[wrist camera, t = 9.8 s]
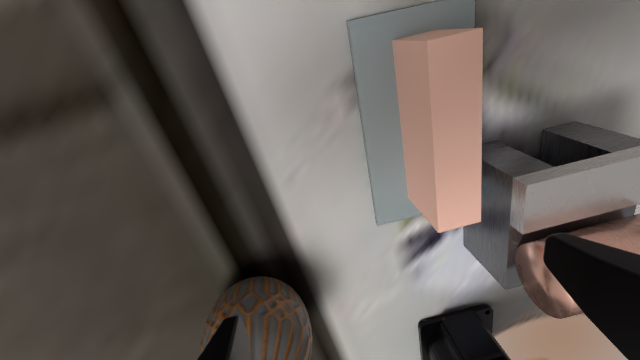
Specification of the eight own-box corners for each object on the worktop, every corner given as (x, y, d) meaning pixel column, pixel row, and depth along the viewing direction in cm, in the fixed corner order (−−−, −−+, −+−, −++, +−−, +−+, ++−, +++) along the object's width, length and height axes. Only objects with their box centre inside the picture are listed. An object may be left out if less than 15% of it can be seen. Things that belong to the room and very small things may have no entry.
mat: (470, 198, 23) (473, 201, 23) (376, 222, 23) (377, 225, 22) (470, -7, 17) (475, -8, 17) (346, 21, 17) (348, 20, 17)
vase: (323, 300, 25) (348, 423, 17) (252, 344, 26) (245, 481, 18) (268, 243, 22) (267, 358, 14) (191, 294, 23) (149, 431, 15)
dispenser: (561, 219, 25) (697, 305, 17) (463, 245, 25) (556, 344, 17) (575, 121, 22) (754, 170, 14) (463, 148, 21) (579, 215, 13)
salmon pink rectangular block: (443, 188, 22) (480, 221, 18) (408, 197, 22) (438, 232, 18) (435, 29, 18) (483, 27, 14) (392, 40, 17) (426, 40, 14)
